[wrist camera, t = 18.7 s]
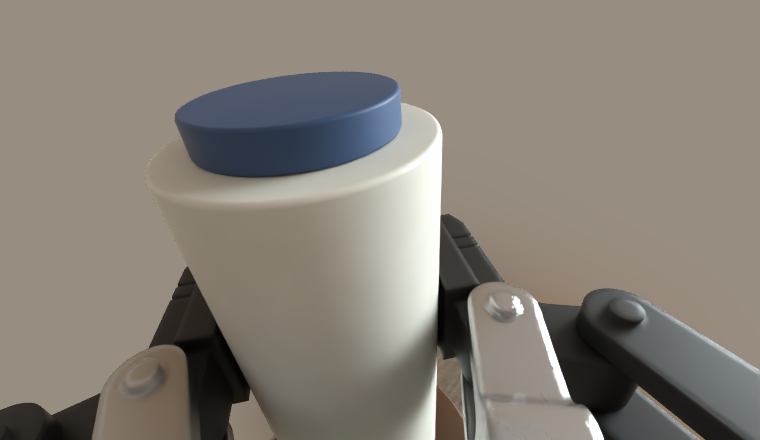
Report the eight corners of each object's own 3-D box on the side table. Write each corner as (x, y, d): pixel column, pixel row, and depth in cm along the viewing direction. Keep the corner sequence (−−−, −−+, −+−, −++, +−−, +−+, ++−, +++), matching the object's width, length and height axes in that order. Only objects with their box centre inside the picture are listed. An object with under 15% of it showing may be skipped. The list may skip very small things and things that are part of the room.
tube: (300, 555, 9) (36, 185, 3) (291, 394, 12) (168, 84, 6) (459, 495, 9) (510, 108, 4) (407, 360, 13) (390, 56, 7)
